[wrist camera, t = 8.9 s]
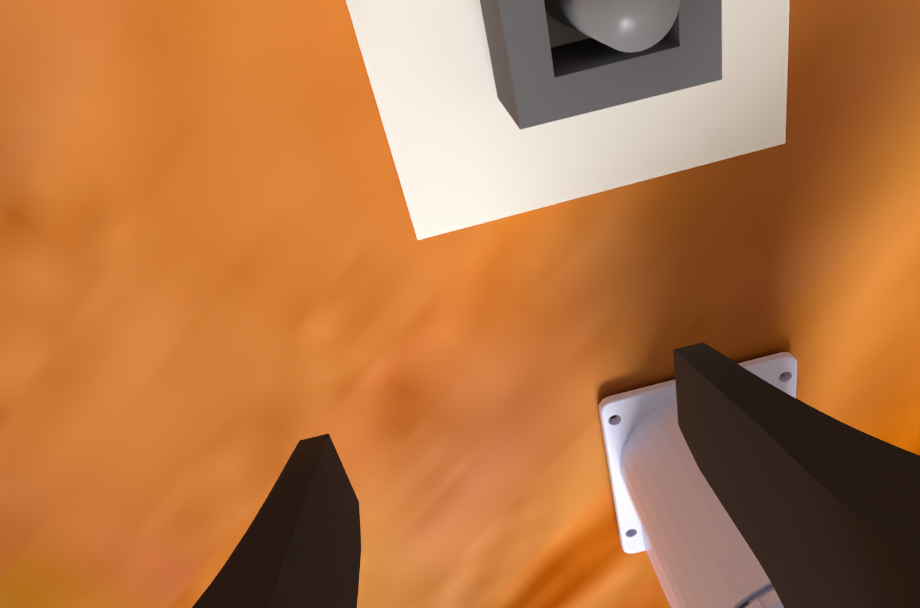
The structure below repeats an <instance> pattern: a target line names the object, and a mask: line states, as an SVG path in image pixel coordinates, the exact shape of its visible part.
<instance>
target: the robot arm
mask: <svg viewBox="0 0 920 608" xmlns="http://www.w3.org/2000/svg"><path fill="white" fill-rule="evenodd" d="M797 364H798V363H797V360H796V359H795V358H794V357H793V356H792V355H791V354H790V353H788V352H781V353H777V354H773V355H769V356H765V357H761V358H757V359H753V360H749V361H745V362H741V363H735V362H734V361H732V360H731V359H729V358H728V357H726V356H724V355H723V354H721V353H720V352H718V351H716V350H715V349H713V348H712V347H710V346H708V345H707V344H705V343H699V344H695V345H690V346H686V347H682V348H678V349H674V365H675V379H674V380H671V381H667V382H663V383H659V384H655V385H651V386H647V387H643V388H639V389H635V390H631V391H627V392H623V393H619V394H615V395H611V396H608V397H606V398H604V399H603V400H602V401H601V402H600V404H599V414H600V420H601V426H602V432H603V438H604V445H605V451H606V457H607V463H608V469H609V475H610V482H611V488H612V494H613V500H614V506H615V513H616V519H617V525H618V531H619V537H620V543H621V546H622V549H623V551H624V552H626V553H630V554H631V553H637V552H641V551H645V550H646V551H647V554H648V556H649V558H650V561H651V563H652V565H653V568H654V570H655V572H656V575H657V577H658V579H659V582H660V584H661V586H662V589H663V591H664V593H665V596H666V598H667V600H668V603H669V605H670V607H671V608H920V456H919V455H916V454H914V453H911V452H909V451H906V450H904V449H901V448H899V447H896V446H894V445H891V444H889V443H887V442H884V441H882V440H880V439H878V438H875V437H873V436H871V435H868V434H866V433H864V432H861V431H859V430H857V429H855V428H853V427H850V426H848V425H846V424H844V423H842V422H840V421H838V420H836V419H834V418H832V417H830V416H828V415H826V414H824V413H822V412H820V411H818V410H816V409H814V408H812V407H811V406H809V405H807V404H805V403H803V402H801V401H800V400H798V399H796V386H797ZM784 372H786V373H785V374H784V375H782V376H780V375H781V374H782V373H784ZM614 415H617V416H616V417H615V418H613V419H609V418H610V417H611V416H614ZM360 556H361V536H360V516H359V502H358V499H357V497H356V495H355V492H354V490H353V488H352V486H351V483H350V481H349V479H348V476H347V474H346V472H345V470H344V467H343V465H342V463H341V461H340V458H339V456H338V454H337V451H336V449H335V447H334V445H333V442H332V440H331V438H330V436H329V434H325V435H321V436H317V437H313V438H308V439H304V440H300V441H299V443H298V445H297V446H296V448H295V450H294V451H293V453H292V455H291V456H290V458H289V460H288V462H287V464H286V465H285V467H284V469H283V471H282V472H281V474H280V476H279V478H278V480H277V481H276V483H275V485H274V486H273V488H272V490H271V492H270V493H269V495H268V497H267V499H266V500H265V502H264V504H263V505H262V507H261V509H260V510H259V512H258V514H257V515H256V517H255V519H254V520H253V522H252V524H251V525H250V527H249V528H248V530H247V532H246V533H245V535H244V536H243V538H242V539H241V541H240V542H239V544H238V545H237V547H236V548H235V550H234V551H233V553H232V554H231V556H230V557H229V559H228V560H227V562H226V563H225V565H224V566H223V568H222V569H221V570H220V572H219V573H218V575H217V576H216V577H215V579H214V580H213V582H212V583H211V584H210V586H209V587H208V588H207V589H206V591H205V592H204V593H203V595H202V596H201V597H200V598H199V600H198V601H197V602H196V603H195V605H194V606H193V607H192V608H357V596H358V584H359V570H360Z"/></svg>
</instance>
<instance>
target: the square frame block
mask: <svg viewBox="0 0 920 608" xmlns="http://www.w3.org/2000/svg"><path fill="white" fill-rule="evenodd" d="M480 4H481V9H482V15H483V20H484V26H485V31H486V37H487V42H488V48H489V53H490V59H491V64H492V70H493V75H494V80H495V86H496V91H497V97H498V99H499V101H500V102H501V103H502V105H503V106H504V108H505V109H506V110H507V112H508V113H509V115H510V116H511V118H512V119H513V120H514V122H515V123H516V125H517V126H518V127H519V129H520V130H521V129H525V128H529V127H533V126H537V125H541V124H545V123H549V122H553V121H557V120H561V119H565V118H569V117H573V116H577V115H581V114H585V113H589V112H593V111H597V110H601V109H605V108H609V107H613V106H617V105H621V104H625V103H630V102H634V101H638V100H642V99H646V98H650V97H654V96H658V95H662V94H666V93H670V92H674V91H678V90H682V89H686V88H690V87H694V86H698V85H702V84H706V83H710V82H714V81H718V80H722V0H680V6H679V10H678V14H677V17H676V19H675V21H674V23H673V25H672V27H671V28H670V30H669V31H668V33H667V34H666V35H665V36H664V37H663V38H662V39H661V40H660V41H659V42H658V43H656V44H655V45H653V46H652V47H650V48H648V49H646V50H643V51H639V52H631V53H629V52H622V51H618V50H616V49H614V48H612V47H610V46H608V45H605V44H603V43H601V42H599V41H597V40H595V39H593V38H587V39H583V40H579V41H575V42H571V43H567V44H563V45H559V46H555V47H551V48H550V40H549V33H548V26H547V18H546V11H545V3H544V0H480Z"/></svg>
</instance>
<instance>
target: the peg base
mask: <svg viewBox="0 0 920 608" xmlns="http://www.w3.org/2000/svg"><path fill="white" fill-rule="evenodd" d="M346 3H347V6H348V9H349V13H350V16H351V19H352V23H353V26H354V29H355V33H356V36H357V39H358V43H359V46H360V49H361V53H362V56H363V59H364V63H365V66H366V69H367V73H368V76H369V79H370V83H371V86H372V89H373V93H374V96H375V99H376V103H377V106H378V109H379V113H380V116H381V119H382V123H383V126H384V129H385V133H386V136H387V139H388V143H389V146H390V149H391V153H392V156H393V159H394V163H395V166H396V169H397V173H398V176H399V179H400V183H401V186H402V189H403V193H404V196H405V199H406V203H407V206H408V209H409V213H410V216H411V219H412V223H413V226H414V229H415V233H416V236H417V239H418V240H420V239H424V238H428V237H432V236H436V235H439V234H443V233H447V232H451V231H455V230H458V229H462V228H466V227H470V226H474V225H477V224H481V223H485V222H489V221H493V220H496V219H500V218H504V217H508V216H512V215H515V214H519V213H523V212H527V211H530V210H534V209H538V208H542V207H546V206H549V205H553V204H557V203H561V202H565V201H568V200H572V199H576V198H580V197H584V196H587V195H591V194H595V193H599V192H603V191H606V190H610V189H614V188H618V187H622V186H625V185H629V184H633V183H637V182H641V181H644V180H648V179H652V178H656V177H660V176H663V175H667V174H671V173H675V172H679V171H682V170H686V169H690V168H694V167H698V166H701V165H705V164H709V163H713V162H717V161H720V160H724V159H728V158H732V157H735V156H739V155H743V154H747V153H751V152H754V151H758V150H762V149H766V148H770V147H773V146H777V145H781V144H785V143H786V108H787V73H788V38H789V3H790V0H722V80H718V81H714V82H710V83H706V84H702V85H698V86H694V87H690V88H686V89H682V90H678V91H674V92H670V93H666V94H662V95H658V96H654V97H650V98H646V99H642V100H638V101H634V102H630V103H625V104H621V105H617V106H613V107H609V108H605V109H601V110H597V111H593V112H589V113H585V114H581V115H577V116H573V117H569V118H565V119H561V120H557V121H553V122H549V123H545V124H541V125H537V126H533V127H529V128H525V129H521V130H520V129H519V127H518V126H517V125H516V123H515V122H514V120H513V119H512V118H511V116H510V115H509V113H508V112H507V110H506V109H505V108H504V106H503V105H502V103H501V102H500V101H499V99H498V97H497V91H496V86H495V80H494V75H493V70H492V64H491V59H490V53H489V48H488V42H487V37H486V31H485V26H484V20H483V15H482V9H481V4H480V0H346ZM544 3H545V11H546V18H547V26H548V33H549V40H550V48H551V47H555V46H559V45H563V44H567V43H571V42H575V41H579V40H583V39H587V38H593V39H595V40H597V41H599V42H601V43H603V44H605V45H608V46H610V47H612V48H614V49H616V50H618V51H622V52H629V53H631V52H639V51H643V50H646V49H648V48H650V47H652V46H653V45H655V44H656V43H658V42H659V41H660V40H661V39H662V38H663V37H664V36H665V35H666V34H667V33H668V31H669V30H670V28H671V27H672V25H673V23H674V21H675V19H676V17H677V14H678V10H679V6H680V0H544Z"/></svg>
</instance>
